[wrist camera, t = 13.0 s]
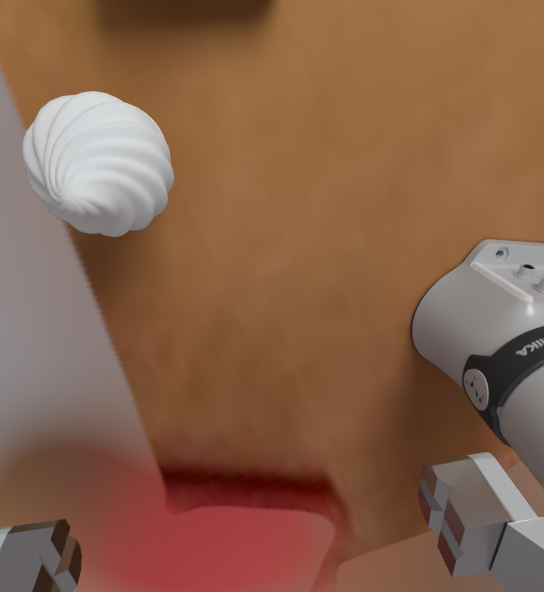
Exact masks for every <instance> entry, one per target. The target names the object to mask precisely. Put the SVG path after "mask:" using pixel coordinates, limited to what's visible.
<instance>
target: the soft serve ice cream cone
mask: <svg viewBox="0 0 544 592" xmlns="http://www.w3.org/2000/svg"><path fill="white" fill-rule="evenodd" d="M22 155H23V160H24V162H25V164H26V168H25V170H26V176H27V181H28V183H29V185H30V187H31V189H32V190H33V192H34V193H35V194H36V195H37V196H38V197H40V198H41V200H42V201H43V203H44V205H45V206H46V208H47V209H48V211H49V212H50V213H52V214H53V215H54V216H55V217H56V218H59V219H61V220H64V221H67V222H69V223H70V224H71V225H72V226H73V227H75V228H76V229H77V230H79V231H81V232H84V233H88V234H96V233H100V234H102V235H105V236H111V237H118V236H122V235H124V234H126V233H127V232H128V231H129V230H141V229H144V228H146V227H147V226H148V225H149V224H150V222H151V221H152V219H153V217H154V216H156V215H158V214H159V213H161V212H162V211H163V210H164V209H165V207H166V205H167V203H168V196H167V194H168V192H169V191H170V189H171V188H172V186H173V182H174V174H173V170H172V167H171V164H170V163H171V157H170V150H169V148H168V146H167V144H166V141H165V138H164V136H163V134H162V132H161V130H160V128H159V127H158V125H157V124H156V123H155V121H154V120H153V119H152V118H151V117H150V116H149V115H147V114H146V113H145V112H143V111H142V110H140V109H139V108H137V107H135V106H133V105H130V104H128V103H124V102H123V101H121V100H120V99H118V98H116V97H114V96H111V95H109V94H107V93H101V92H96V91H91V92H84V93H80V94H78V95H69V96H61V97H59V98H56V99H54V100H51V101H49V102H48V103H47V104H46V105H45V106H44V107H43V108H41V109H40V111H39V113H38V115H37V117H36V119H35V121H34V122H33V123H32V125H31V126H30V127H29V129H28V130H27V132H26V133H25V135H24V139H23V142H22Z"/></svg>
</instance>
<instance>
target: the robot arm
mask: <svg viewBox="0 0 544 592" xmlns="http://www.w3.org/2000/svg"><path fill="white" fill-rule="evenodd" d="M499 250H500V251H499ZM498 251H499V253H498V254H497V255H496V253H497V252H498ZM412 337H413V341H414V344H415V347H416V349H417V350H418V352H419V353H420V354H421V355H422V356H423V357H424V358H425V359H426V360H428V361H429V362H431V363H432V364H434V365H435V366H436V367H438V368H439V369H440V370H442V371H443V372H444V373H445V374H446V375H448V376H449V377H450V378H451V379H452V380H453V381H454V382H455V383H456V384H457V385H458V386H459V387H461V388H462V389H463V390H464V391H465V393H466V395H467V396H468V398H469V400H470V401H471V403H472V405H473V406H474V408H475V409H476V411H477V412H478V413H479V415H480V416H481V417H482V419H483V420H484V421H485V422H486V424H487V425H488V426H489V427H490V429H491V430H492V431H493V432H494V434H495V435H496V436H497V437H498V438H499V440H500V441H502V442H503V443H504V444H505V445H507V446H509V447H511V448H512V449H513V450H514V451H515V453H516V454H517V455H518V456H519V458H520V459H521V460H522V461H523V463H524V464H525V465H526V467H527V468H528V469H529V471H530V472H531V473H532V474H533V476H534V477H535V478H536V479H537V481H538V482H539V483H540V485H541V486H542V487H543V488H544V243H532V242H519V241H507V240H494V239H487V240H484V241H482V242H481V243H479V244H478V245H477V246H476V247H475V248H474V249H473V250H472V252H471V253H470V254H469V255H468V257H467V258H466V259H465V261H464V262H463V263H462V264H461V265H459V266H458V267H457V268H455V269H454V270H452V271H451V272H449V273H448V274H447V275H445V276H444V277H442V278H441V279H440V280H439V281H438V282H437V283H436V284H435V285H433V287H432V288H431V289H430V290H429V291H428V292H427V293H426V295H425V296H424V298H423V299H422V301H421V302H420V304H419V306H418V308H417V310H416V313H415V316H414V319H413V325H412ZM421 473H422V475H423V477H424V480H423V481H422V482H421V483H420V484H419V490H418V497H419V503H420V508H421V511H422V514H423V516H424V519H425V521H426V523H427V525H428V527H429V528H430V529H432V530H433V531H434V532H436V533H437V534H438V535H439V540H438V549H439V551H440V553H441V555H442V557H443V559H444V562H445V564H446V566H447V568H448V570H449V572H450V574H451V576H452V577H458V576H465V575H472V574H479V573H486V572H490V575H491V576H492V577H493V578H494V579H495V580H496V581H497V582H499V583H500V584H501V585H502V586H503V587H504V588H505V589H506V590H507V591H509V592H544V517H537V515H536V514H535V513H534V511H533V510H532V508H531V507H530V506H529V504H528V503H527V502H526V500H525V499H524V497H523V496H522V495H521V493H520V492H519V491H518V489H517V488H516V486H515V485H514V484H513V482H512V481H511V480H510V478H509V477H508V476H507V474H506V473H505V471H504V470H503V469H502V467H501V466H500V464H499V463H498V462H497V460H496V459H495V458H494V456H493V455H491V454H490V453H489V452H482V453H477V454H471V455H466V456H465V455H461V456H455V457H449V458H444V459H438V460H432V461H427V462H425V463H424V464H423V465H422V470H421ZM69 530H70V526H69V524H68V523H67V521H66V519H59V520H53V521H45V522H39V523H32V524H24V525H17V526H9V527H3V528H0V592H72V591H73V590H74V589H75V588H76V587H77V584H78V580H79V576H80V572H81V560H82V554H81V549H80V545H79V543H78V541H77V539H75V538H73V537H71V536H69V535H68V534H69Z"/></svg>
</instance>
